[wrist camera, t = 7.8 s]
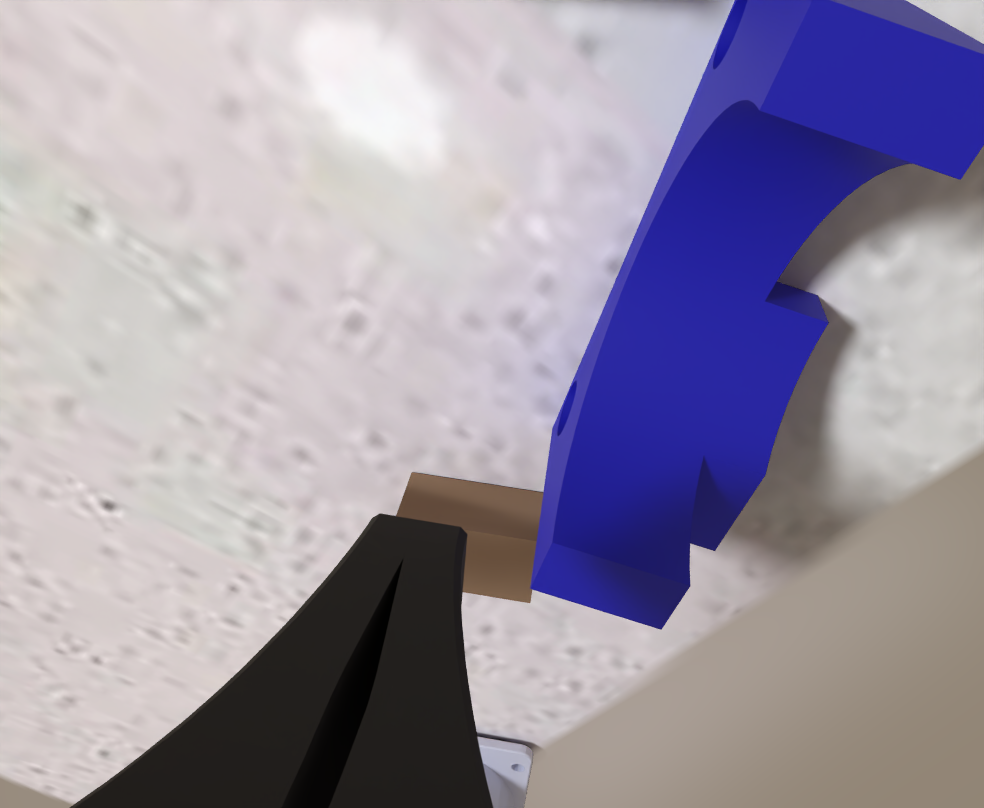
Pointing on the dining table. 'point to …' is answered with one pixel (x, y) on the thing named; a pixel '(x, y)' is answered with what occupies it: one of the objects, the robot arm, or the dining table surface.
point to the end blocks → (483, 529)
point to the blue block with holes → (735, 284)
